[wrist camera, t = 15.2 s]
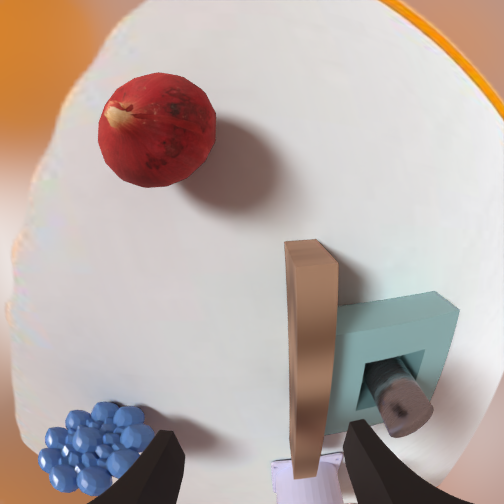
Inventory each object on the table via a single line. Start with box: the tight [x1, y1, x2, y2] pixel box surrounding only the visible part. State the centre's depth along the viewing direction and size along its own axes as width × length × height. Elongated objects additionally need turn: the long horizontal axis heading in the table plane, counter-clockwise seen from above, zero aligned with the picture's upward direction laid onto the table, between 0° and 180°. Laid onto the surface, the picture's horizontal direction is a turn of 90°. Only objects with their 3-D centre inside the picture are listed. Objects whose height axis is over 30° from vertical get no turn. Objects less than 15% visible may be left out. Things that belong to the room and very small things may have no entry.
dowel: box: [363, 356, 433, 438], centre depth 16 cm, size 3×3×7 cm
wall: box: [284, 239, 339, 480], centre depth 17 cm, size 20×2×5 cm, turn 5°
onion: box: [98, 72, 216, 188], centre depth 12 cm, size 6×6×8 cm
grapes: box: [38, 402, 155, 496], centre depth 16 cm, size 12×7×12 cm, turn 100°
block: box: [324, 291, 460, 435], centre depth 18 cm, size 10×10×4 cm
